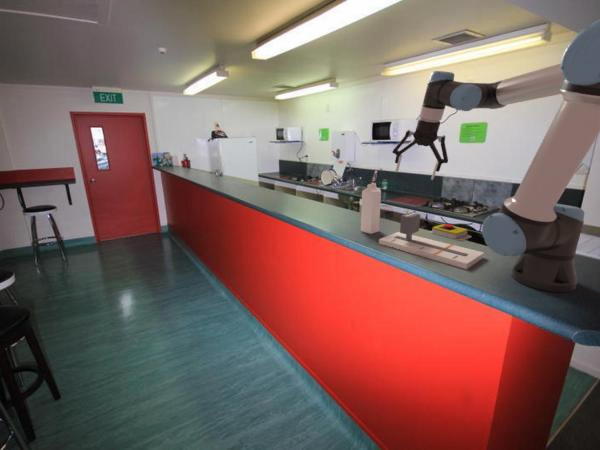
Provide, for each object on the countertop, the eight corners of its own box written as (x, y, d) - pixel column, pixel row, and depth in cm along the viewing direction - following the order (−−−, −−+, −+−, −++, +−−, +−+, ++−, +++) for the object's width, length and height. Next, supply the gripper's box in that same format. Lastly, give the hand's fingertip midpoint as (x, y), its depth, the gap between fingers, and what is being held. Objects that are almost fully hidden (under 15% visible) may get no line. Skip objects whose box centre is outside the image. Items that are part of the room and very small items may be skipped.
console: (483, 257, 107) (484, 251, 106) (466, 269, 98) (467, 262, 97) (398, 236, 132) (398, 231, 131) (379, 243, 123) (379, 238, 123)
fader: (418, 238, 121) (420, 213, 118) (408, 242, 116) (410, 217, 114) (409, 236, 124) (411, 212, 121) (399, 240, 119) (401, 215, 117)
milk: (379, 231, 139) (382, 183, 133) (370, 234, 135) (373, 185, 129) (368, 228, 144) (371, 182, 137) (360, 231, 140) (362, 183, 134)
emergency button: (441, 220, 140) (474, 228, 127) (440, 229, 141) (472, 237, 129) (428, 223, 135) (461, 232, 123) (427, 233, 136) (459, 242, 124)
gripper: (467, 123, 107) (448, 178, 118) (396, 112, 115) (384, 165, 126) (467, 127, 101) (447, 185, 112) (392, 116, 109) (381, 171, 120)
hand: (414, 174), depth 119 cm, fingers open, 13 cm apart
